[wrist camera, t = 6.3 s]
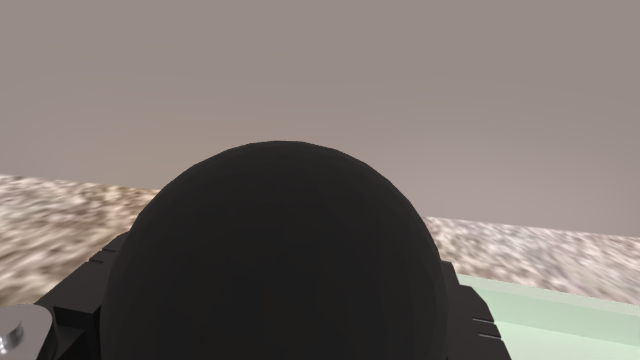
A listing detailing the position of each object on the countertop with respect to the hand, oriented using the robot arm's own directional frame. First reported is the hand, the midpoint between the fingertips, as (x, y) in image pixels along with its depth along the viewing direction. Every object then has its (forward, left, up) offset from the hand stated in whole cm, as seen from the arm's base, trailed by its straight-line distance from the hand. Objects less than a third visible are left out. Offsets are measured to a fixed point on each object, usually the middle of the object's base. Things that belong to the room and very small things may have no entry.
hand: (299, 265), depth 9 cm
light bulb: (0, -2, -6) cm, 7 cm away
